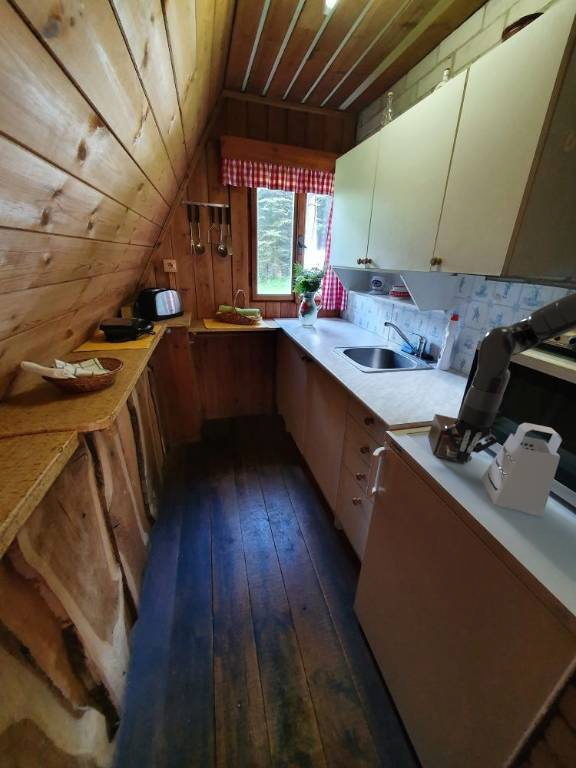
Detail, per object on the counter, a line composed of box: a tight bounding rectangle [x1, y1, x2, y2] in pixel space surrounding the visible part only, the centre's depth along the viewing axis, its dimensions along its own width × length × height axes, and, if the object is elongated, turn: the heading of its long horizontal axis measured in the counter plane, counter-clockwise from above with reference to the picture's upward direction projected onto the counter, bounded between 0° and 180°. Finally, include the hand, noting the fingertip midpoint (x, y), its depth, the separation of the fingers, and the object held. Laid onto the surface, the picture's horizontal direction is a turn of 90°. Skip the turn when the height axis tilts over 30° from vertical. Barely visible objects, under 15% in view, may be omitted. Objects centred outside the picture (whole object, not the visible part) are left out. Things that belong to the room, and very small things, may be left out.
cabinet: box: [427, 413, 459, 456], centre depth 96 cm, size 12×10×9 cm
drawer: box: [436, 433, 473, 464], centre depth 92 cm, size 15×8×7 cm, turn 163°
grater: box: [481, 422, 563, 518], centre depth 75 cm, size 10×10×20 cm
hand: (459, 461), depth 84 cm, fingers closed
